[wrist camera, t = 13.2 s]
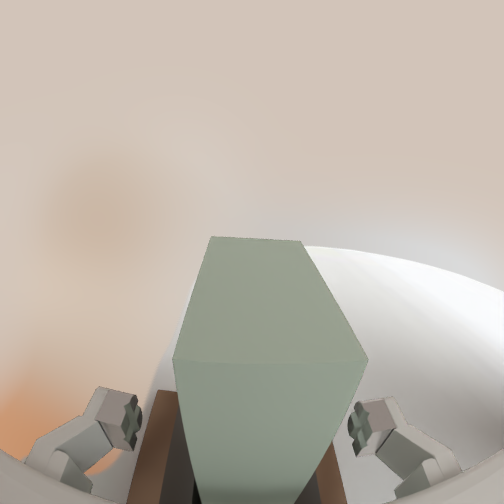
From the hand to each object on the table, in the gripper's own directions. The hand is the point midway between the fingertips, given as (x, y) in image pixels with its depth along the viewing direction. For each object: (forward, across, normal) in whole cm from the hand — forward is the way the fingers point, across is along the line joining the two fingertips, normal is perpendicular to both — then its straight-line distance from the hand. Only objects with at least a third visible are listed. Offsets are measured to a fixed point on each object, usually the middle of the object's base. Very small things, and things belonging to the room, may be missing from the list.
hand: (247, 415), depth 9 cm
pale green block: (0, 0, +10) cm, 10 cm away
